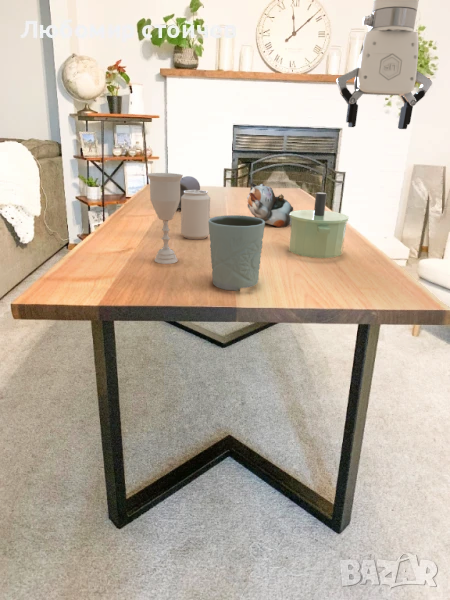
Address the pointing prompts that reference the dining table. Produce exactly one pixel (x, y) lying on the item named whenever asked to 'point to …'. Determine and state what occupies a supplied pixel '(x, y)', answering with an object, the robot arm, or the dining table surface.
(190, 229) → the can
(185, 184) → the bluetooth speaker
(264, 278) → the dining table surface
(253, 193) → the lucky cat figurine
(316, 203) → the lid
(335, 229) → the pot
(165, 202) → the chalice
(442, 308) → the dining table surface
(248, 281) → the green ceramic cup
